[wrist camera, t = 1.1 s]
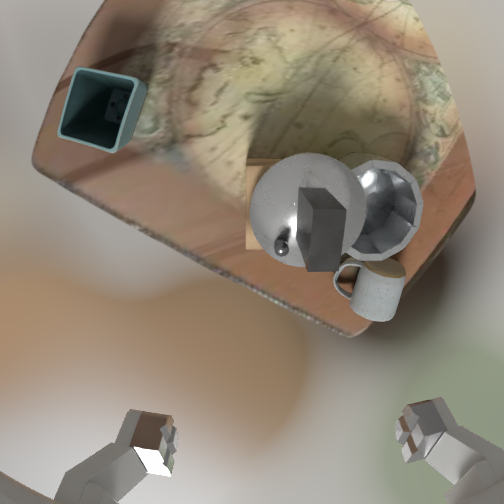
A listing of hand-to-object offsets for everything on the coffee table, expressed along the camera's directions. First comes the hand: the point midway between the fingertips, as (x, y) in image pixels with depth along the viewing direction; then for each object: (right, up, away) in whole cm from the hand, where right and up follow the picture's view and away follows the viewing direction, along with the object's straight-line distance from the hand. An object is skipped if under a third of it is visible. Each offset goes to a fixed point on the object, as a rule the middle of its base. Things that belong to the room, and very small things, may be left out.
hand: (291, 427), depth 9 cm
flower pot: (-19, +26, +26) cm, 41 cm away
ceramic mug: (+17, +2, +38) cm, 41 cm away
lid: (+5, +11, +25) cm, 28 cm away
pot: (+14, +14, +32) cm, 38 cm away
